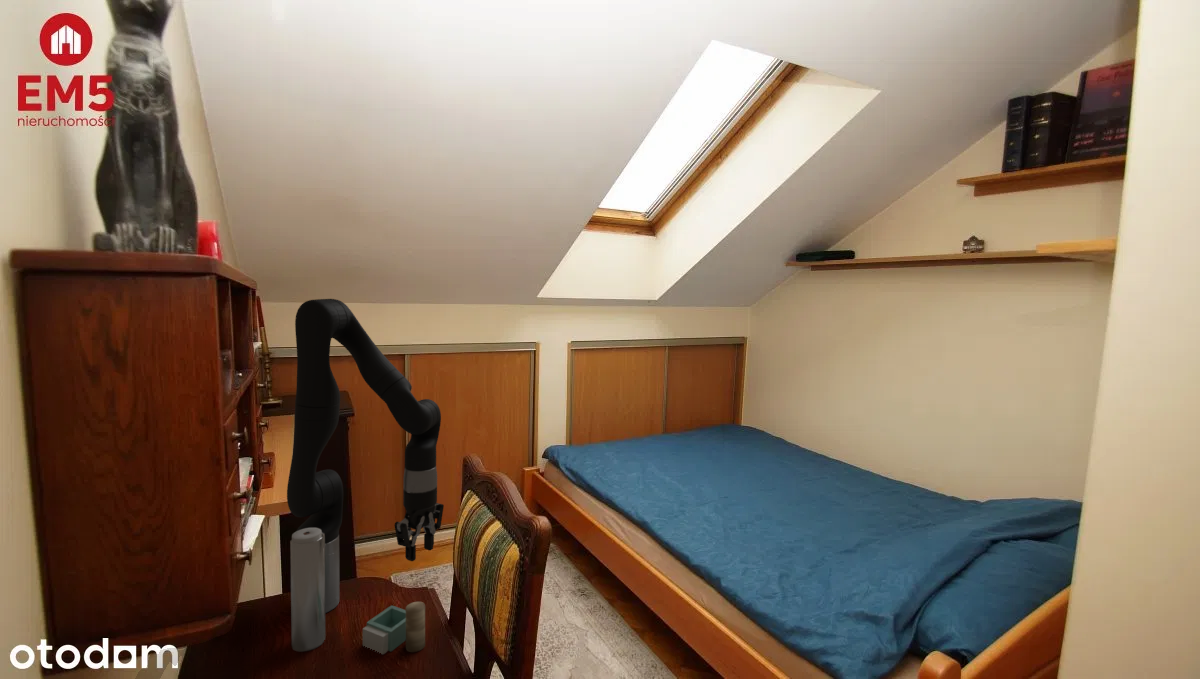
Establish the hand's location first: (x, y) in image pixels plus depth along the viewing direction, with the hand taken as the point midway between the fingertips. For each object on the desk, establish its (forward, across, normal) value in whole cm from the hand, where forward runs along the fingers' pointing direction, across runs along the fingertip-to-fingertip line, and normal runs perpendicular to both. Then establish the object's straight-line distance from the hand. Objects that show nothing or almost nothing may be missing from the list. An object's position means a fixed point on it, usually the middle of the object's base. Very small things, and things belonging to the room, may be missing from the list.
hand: (419, 554), depth 123 cm
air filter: (+16, +18, -15) cm, 28 cm away
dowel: (+15, +8, +7) cm, 19 cm away
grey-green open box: (+15, +9, 0) cm, 18 cm away
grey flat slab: (+15, +13, 0) cm, 20 cm away
